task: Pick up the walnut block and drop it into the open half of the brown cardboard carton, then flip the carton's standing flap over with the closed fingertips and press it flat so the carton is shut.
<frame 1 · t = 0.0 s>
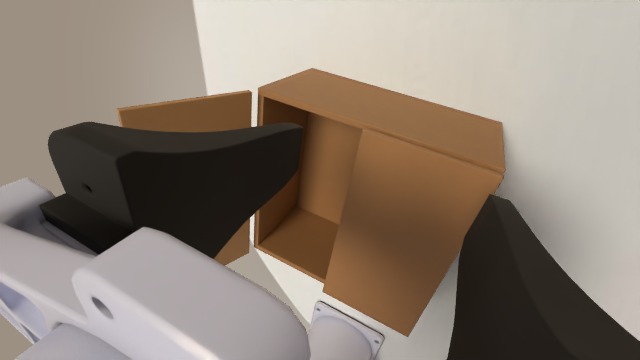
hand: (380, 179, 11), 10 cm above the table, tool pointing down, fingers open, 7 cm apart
flap: (203, 202, 18), point 10 cm above the table, hinge at 110.0°
carton: (373, 173, 23), on the table
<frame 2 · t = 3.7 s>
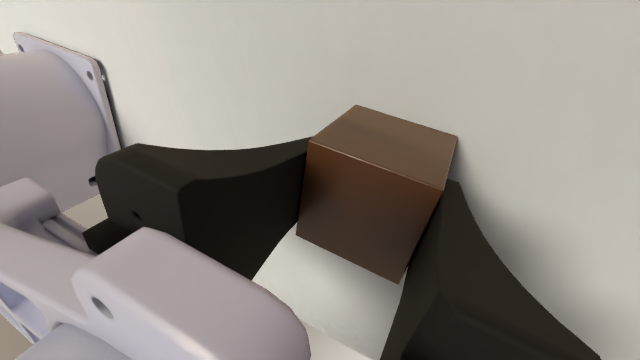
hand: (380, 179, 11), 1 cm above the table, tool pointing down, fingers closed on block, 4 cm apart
block: (389, 163, 12), on the table, touching gripper
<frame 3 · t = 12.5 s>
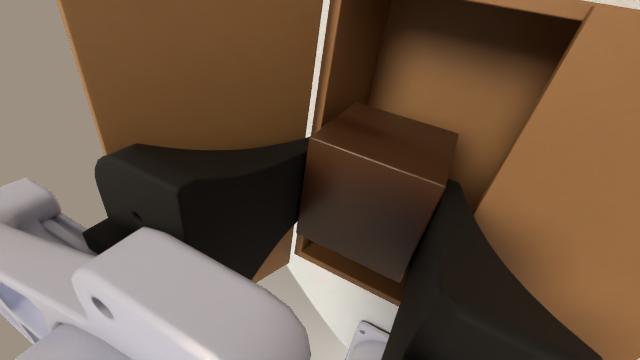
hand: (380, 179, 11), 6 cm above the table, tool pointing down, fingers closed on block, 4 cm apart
block: (390, 161, 12), point 5 cm above the table, touching gripper
flap: (229, 179, 10), point 10 cm above the table, hinge at 110.0°
carton: (475, 143, 15), on the table
when the fingers open (8 cm above the table, at t = 17.0 s): block drops 6 cm, resting on carton.
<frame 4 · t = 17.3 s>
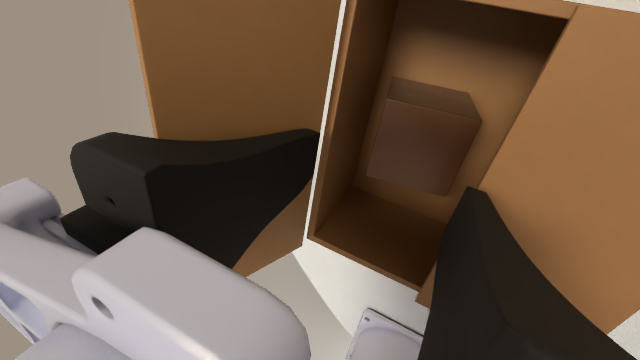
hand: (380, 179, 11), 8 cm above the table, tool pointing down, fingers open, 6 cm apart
block: (417, 119, 17), point 1 cm above the table, tilted 11°, touching carton
flap: (253, 161, 11), point 10 cm above the table, hinge at 111.4°, touching gripper
carton: (476, 134, 17), on the table
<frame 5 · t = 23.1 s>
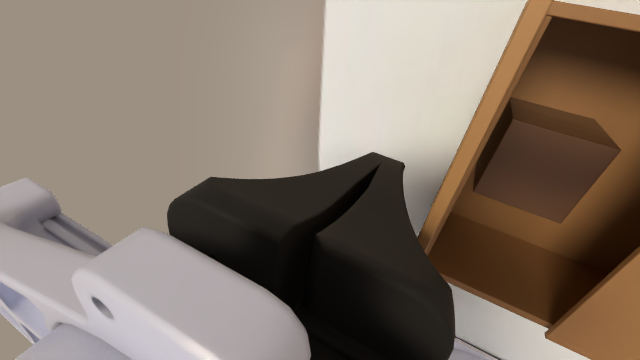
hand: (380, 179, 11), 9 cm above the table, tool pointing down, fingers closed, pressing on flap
block: (529, 141, 17), resting on carton
flap: (439, 213, 10), point 10 cm above the table, hinge at 97.3°, touching gripper
carton: (593, 161, 16), on the table
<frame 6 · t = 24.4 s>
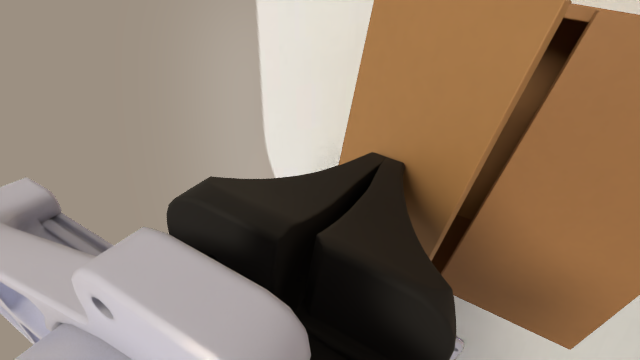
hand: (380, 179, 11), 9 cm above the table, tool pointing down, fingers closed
flap: (388, 173, 12), point 9 cm above the table, hinge at 35.8°, touching gripper
carton: (490, 130, 17), on the table
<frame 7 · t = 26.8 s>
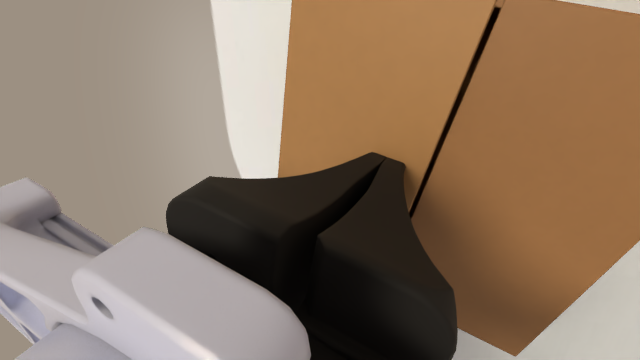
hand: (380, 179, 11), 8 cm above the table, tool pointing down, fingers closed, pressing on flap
flap: (343, 160, 12), point 7 cm above the table, hinge at 5.8°, touching gripper
carton: (445, 127, 17), on the table
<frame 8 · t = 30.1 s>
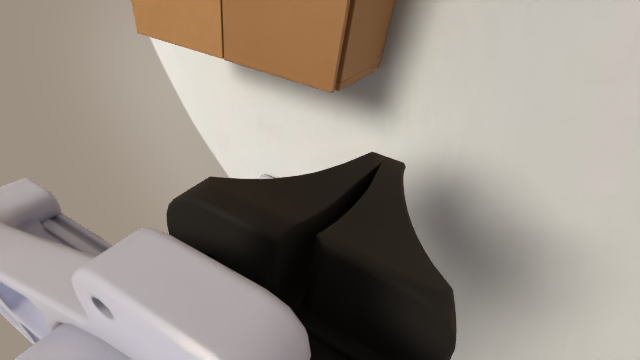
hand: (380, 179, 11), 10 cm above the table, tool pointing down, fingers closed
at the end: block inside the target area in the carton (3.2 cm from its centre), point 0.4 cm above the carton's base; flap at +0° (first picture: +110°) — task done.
